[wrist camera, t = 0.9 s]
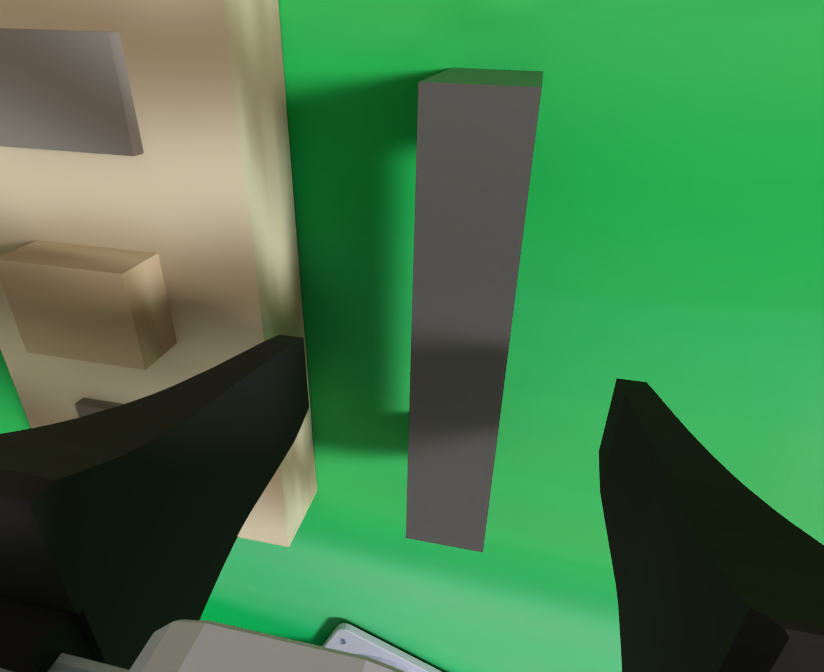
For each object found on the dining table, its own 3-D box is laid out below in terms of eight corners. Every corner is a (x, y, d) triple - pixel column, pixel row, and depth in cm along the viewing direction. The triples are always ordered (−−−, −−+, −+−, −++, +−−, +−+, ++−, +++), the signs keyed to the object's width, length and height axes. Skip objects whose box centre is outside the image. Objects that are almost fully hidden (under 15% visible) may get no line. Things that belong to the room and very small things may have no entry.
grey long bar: (494, 455, 21) (482, 552, 17) (431, 445, 21) (405, 537, 17) (543, 71, 15) (541, 87, 11) (451, 67, 15) (418, 81, 11)
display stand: (317, 491, 24) (271, 582, 20) (109, 453, 25) (28, 531, 22) (270, -98, 14) (161, -147, 10) (-63, -94, 16) (-267, -134, 12)
